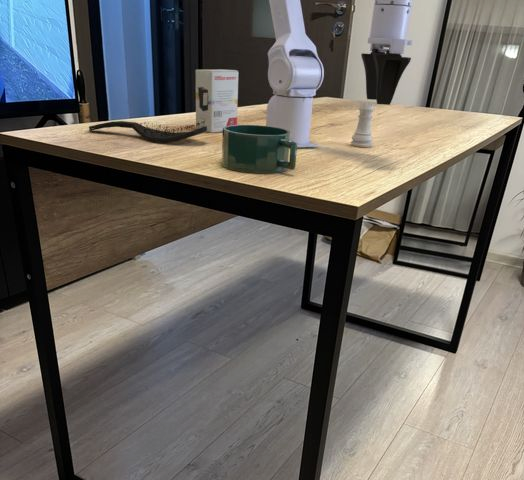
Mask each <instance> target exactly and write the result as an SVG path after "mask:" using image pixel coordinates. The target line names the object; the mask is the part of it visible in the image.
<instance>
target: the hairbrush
mask: <svg viewBox="0 0 524 480" xmlns="http://www.w3.org/2000/svg"><path fill="white" fill-rule="evenodd" d="M201 123H202V122H201ZM203 123H204V124H205V120H204V121H203ZM149 124H150V123H149V122H148V123H147V124H146V122H145V121H144V125H143V124H142V122H140V123H138V122H134V121H125V120H117V121H116V120H115V121H109V122H103V123H98V124H95V125H90V126H88V130H89V132H92V131H97V130H101V129H109V128H127V129H132V130H134V132H136V133H137V134H138V135H139V136H140V137H141V138H143V139H144V140H146V141H148V142H151V143H158V144H166V143H168V144H169V143H176V142H179V141H180V142H181V141H182V140H186V139H189V138H191V137H195V136H198V135H201V134H203V133H205V132H206V131H207V126H205V127H202V126H203V125H202V126H201V128H198V129H197V130H196V128H197V127H196V126H199V125H200V123H198V122H197V124H196V123H195V124H190V125H186V126H184V125H183V126H179V127H178V126H171V127H170V126H169V125H167V126H165V125H164V127H163V128H162V125H161V124H159V125H158V123H156V125H155V126H158V127H155V128H152V126H154V124H153V123H151V124H150V125H149ZM158 128H159V129H158ZM160 129H162V130H160ZM189 129H190V131H186V130H189ZM179 130H180V132H179ZM206 133H207V132H206Z"/></svg>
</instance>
